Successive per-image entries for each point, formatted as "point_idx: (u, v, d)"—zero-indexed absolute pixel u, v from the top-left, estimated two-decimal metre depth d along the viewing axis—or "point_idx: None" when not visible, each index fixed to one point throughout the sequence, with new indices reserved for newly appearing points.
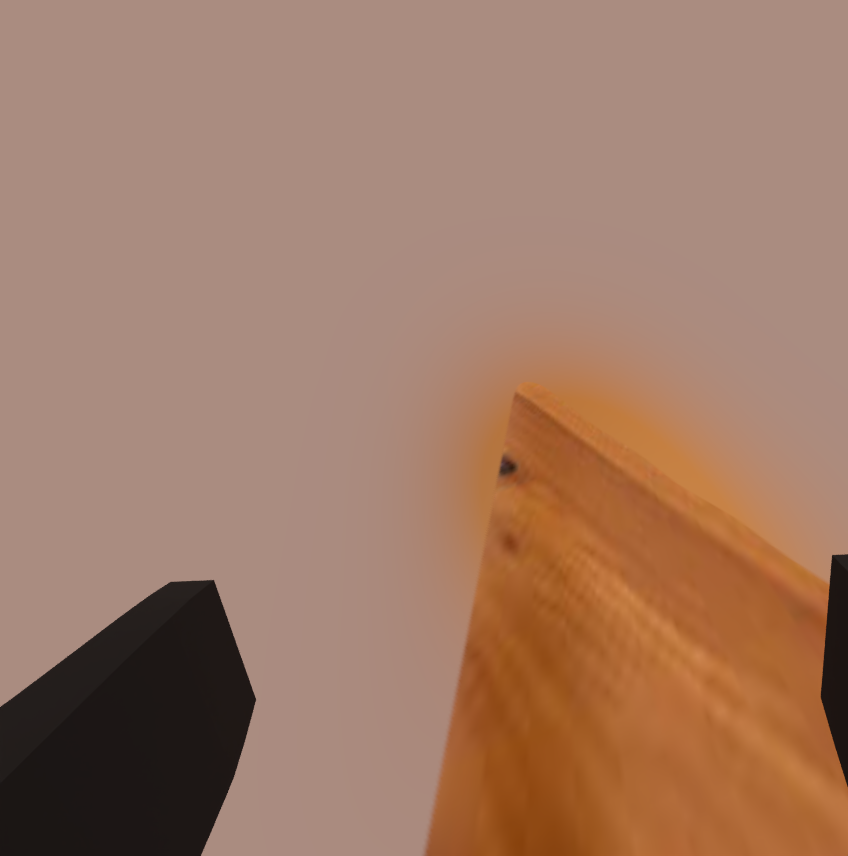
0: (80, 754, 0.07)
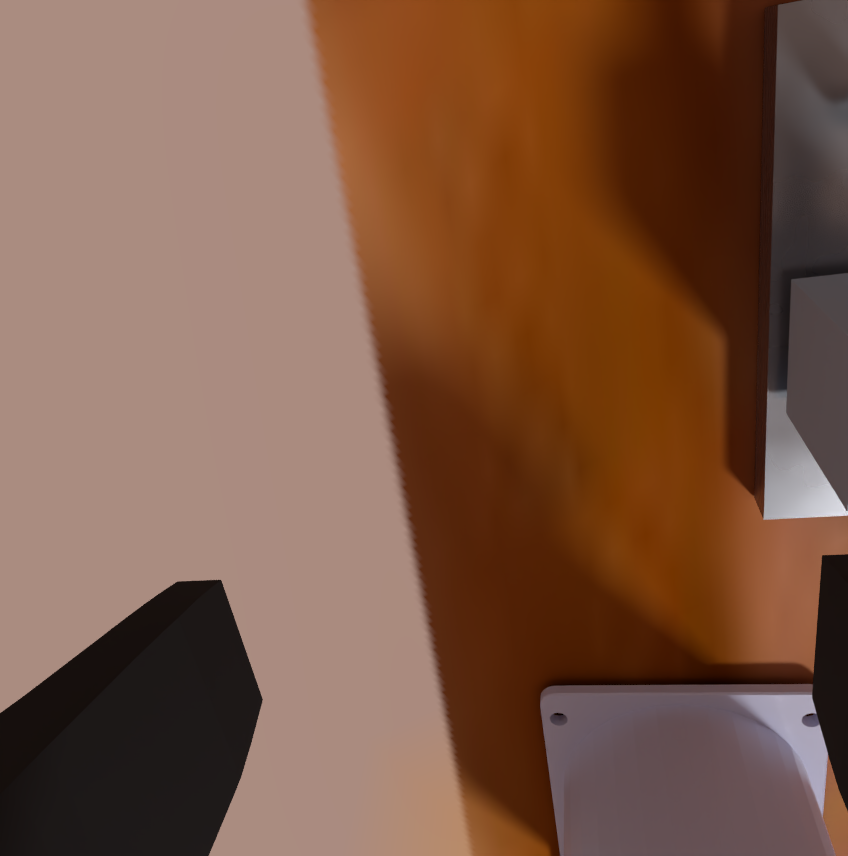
0: (89, 754, 0.07)
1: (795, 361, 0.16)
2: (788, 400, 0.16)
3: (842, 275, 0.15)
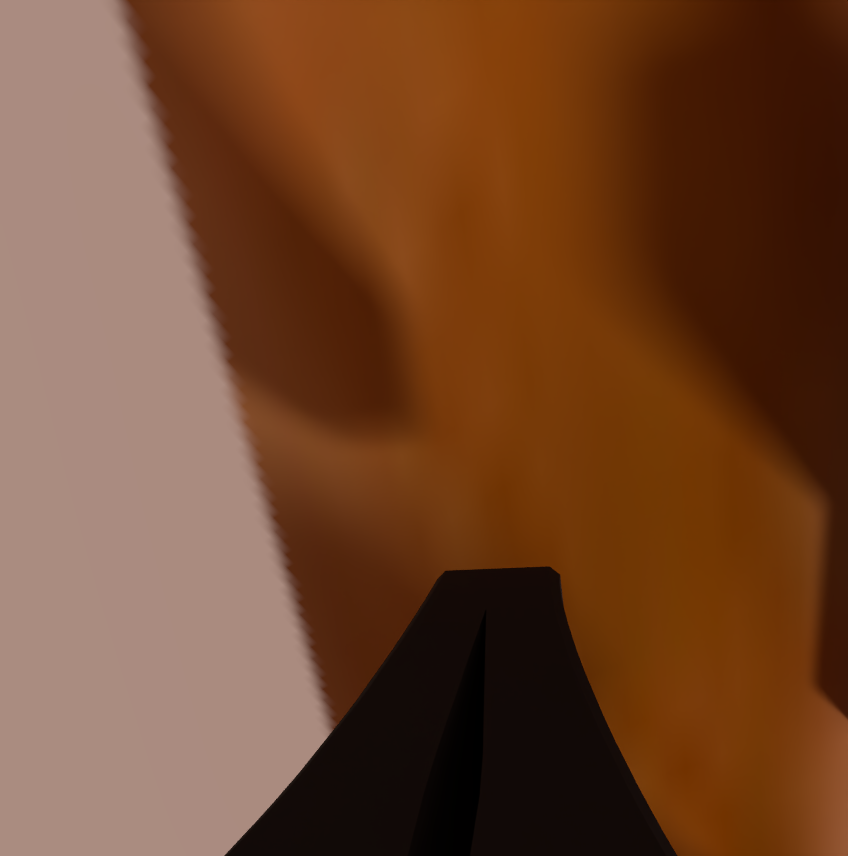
0: (454, 760, 0.06)
1: None
2: None
3: None
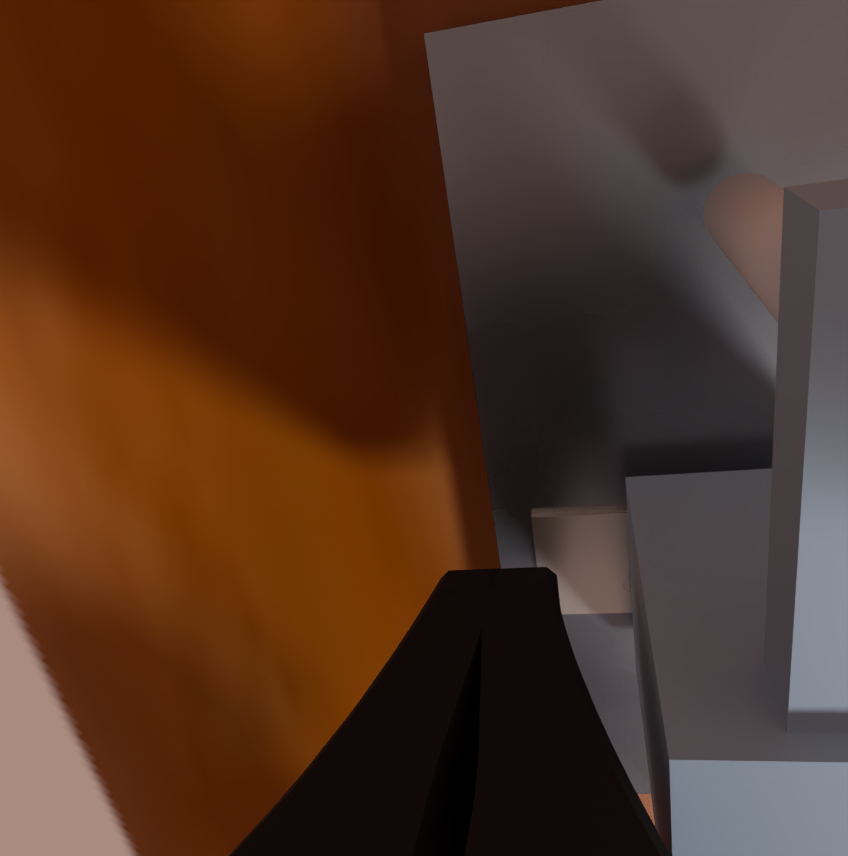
0: (458, 759, 0.06)
1: (634, 611, 0.09)
2: (635, 655, 0.10)
3: (708, 477, 0.09)
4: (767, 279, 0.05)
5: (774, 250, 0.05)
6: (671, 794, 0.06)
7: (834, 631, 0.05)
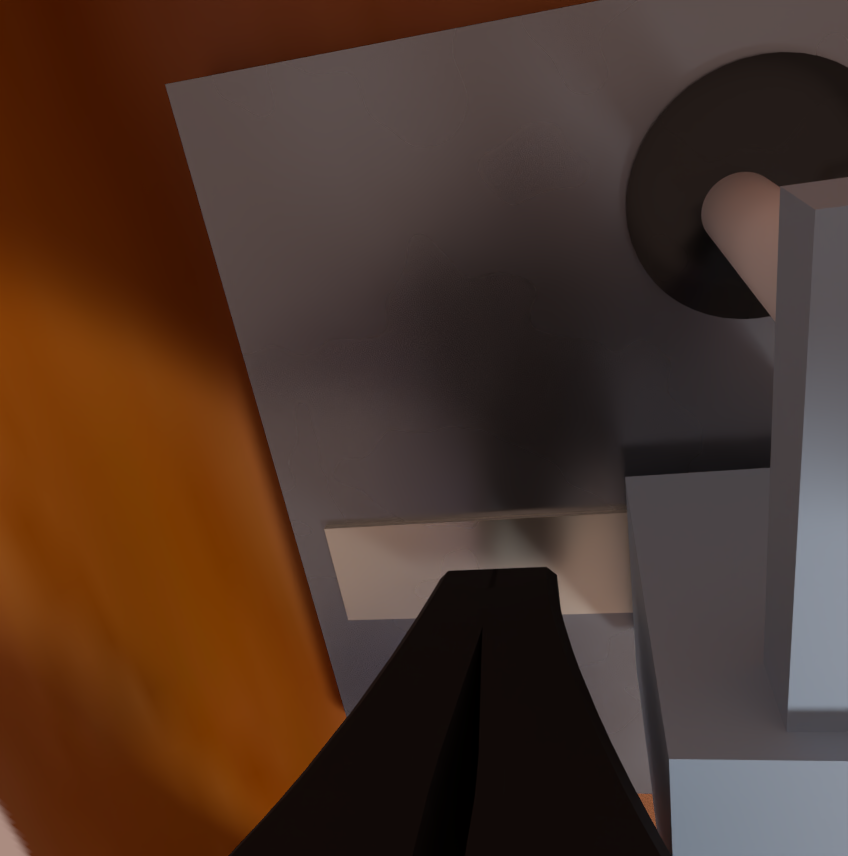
0: (456, 759, 0.06)
1: (634, 611, 0.09)
2: (636, 655, 0.10)
3: (707, 477, 0.09)
4: (764, 278, 0.05)
5: (771, 249, 0.05)
6: (670, 793, 0.06)
7: (832, 630, 0.05)
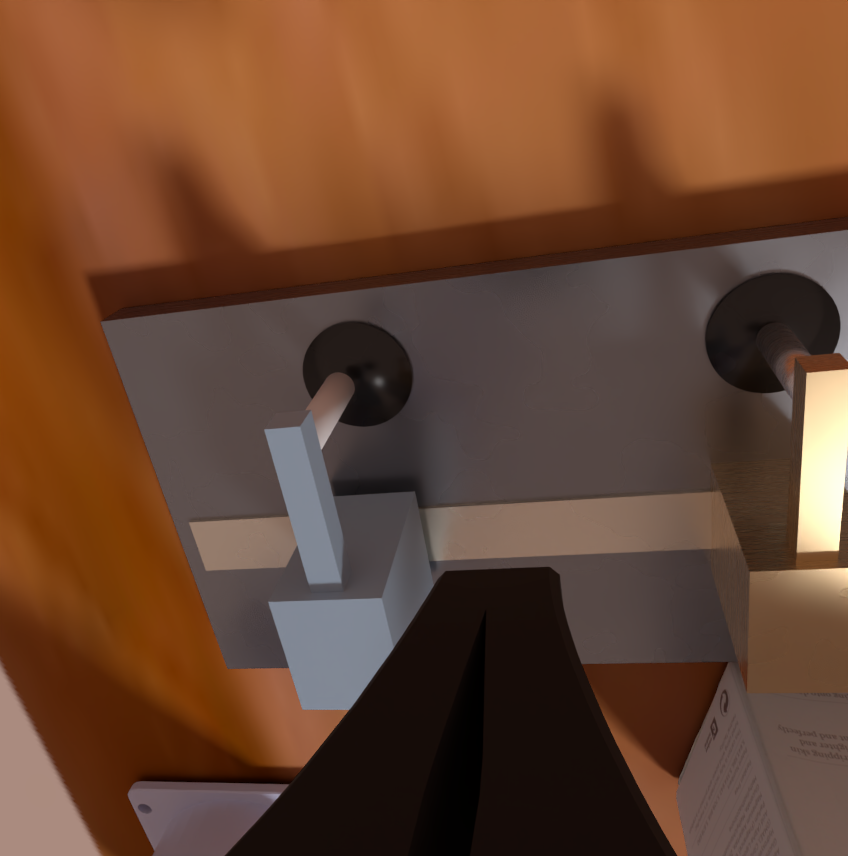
0: (453, 758, 0.06)
1: None
2: None
3: (355, 497, 0.19)
4: None
5: None
6: None
7: (312, 554, 0.15)
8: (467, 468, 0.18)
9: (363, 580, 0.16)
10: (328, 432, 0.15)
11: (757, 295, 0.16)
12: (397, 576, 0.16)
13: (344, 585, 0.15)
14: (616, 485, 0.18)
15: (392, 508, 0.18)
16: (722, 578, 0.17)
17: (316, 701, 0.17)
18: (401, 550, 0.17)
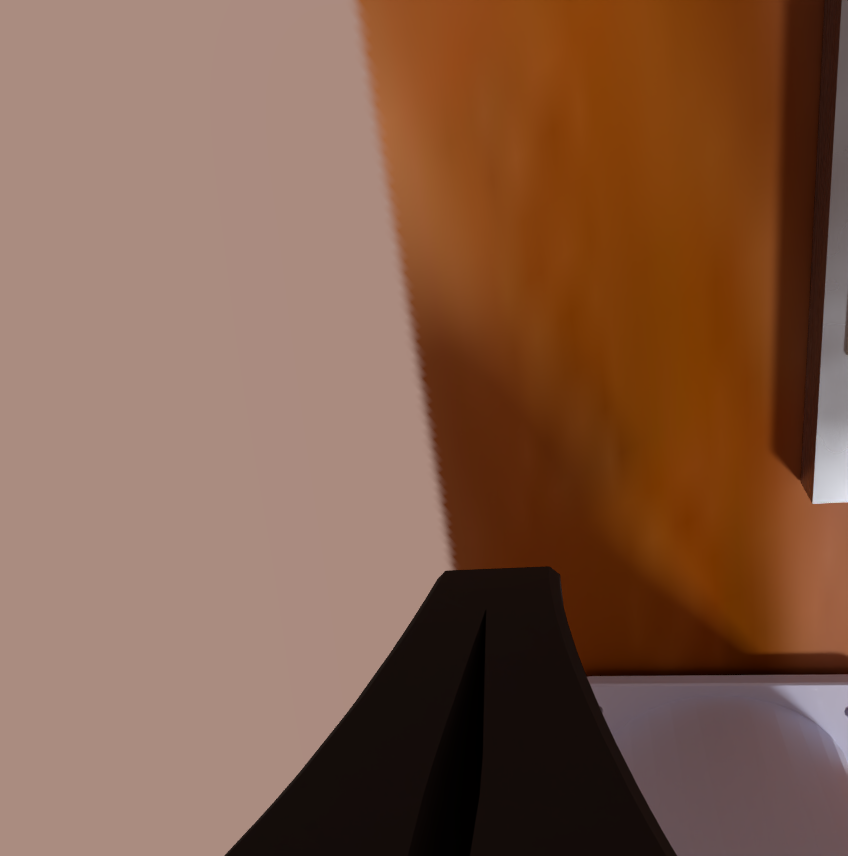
0: (454, 760, 0.06)
1: None
2: None
3: None
4: None
5: None
6: None
7: None
8: None
9: None
10: None
11: None
12: None
13: None
14: None
15: None
16: None
17: None
18: None
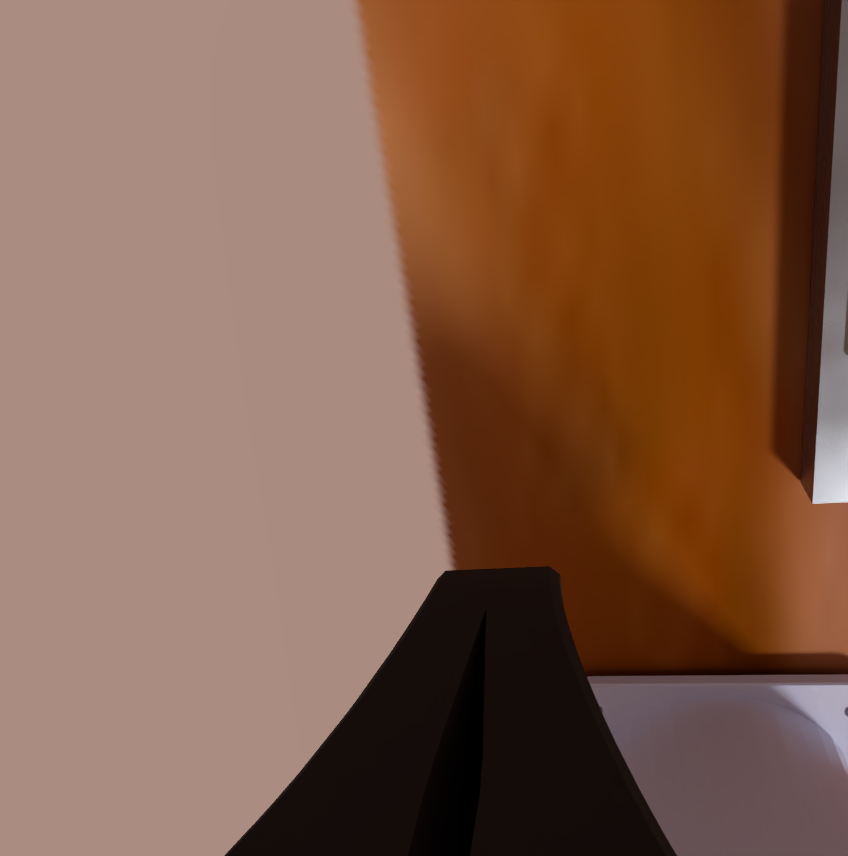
0: (454, 760, 0.06)
1: None
2: None
3: None
4: None
5: None
6: None
7: None
8: None
9: None
10: None
11: None
12: None
13: None
14: None
15: None
16: None
17: None
18: None
